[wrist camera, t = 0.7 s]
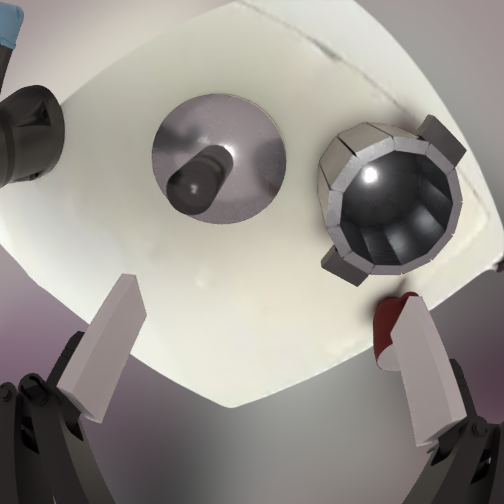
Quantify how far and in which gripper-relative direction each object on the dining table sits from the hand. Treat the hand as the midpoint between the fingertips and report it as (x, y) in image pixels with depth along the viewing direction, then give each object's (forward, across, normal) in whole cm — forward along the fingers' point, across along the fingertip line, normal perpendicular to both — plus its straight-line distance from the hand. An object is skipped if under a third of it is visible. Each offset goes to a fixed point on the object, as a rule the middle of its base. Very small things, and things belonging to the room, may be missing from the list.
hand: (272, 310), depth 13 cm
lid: (+23, -7, +1) cm, 24 cm away
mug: (+22, +20, -19) cm, 35 cm away
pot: (+22, +12, 0) cm, 25 cm away
